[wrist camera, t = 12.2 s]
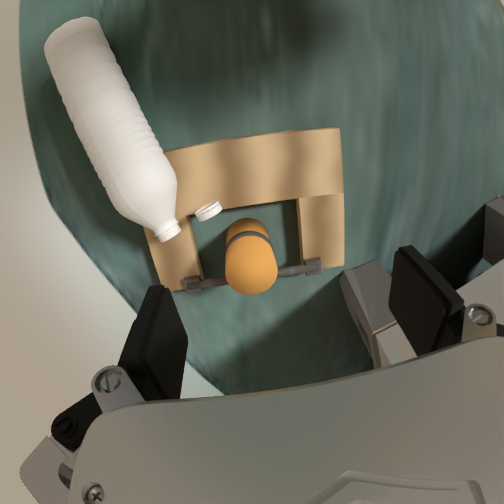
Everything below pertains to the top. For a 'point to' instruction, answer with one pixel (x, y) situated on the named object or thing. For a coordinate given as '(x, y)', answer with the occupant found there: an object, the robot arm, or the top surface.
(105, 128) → the water bottle
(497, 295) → the transformer
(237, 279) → the banded orange cylinder
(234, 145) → the oak frame
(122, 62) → the top surface
